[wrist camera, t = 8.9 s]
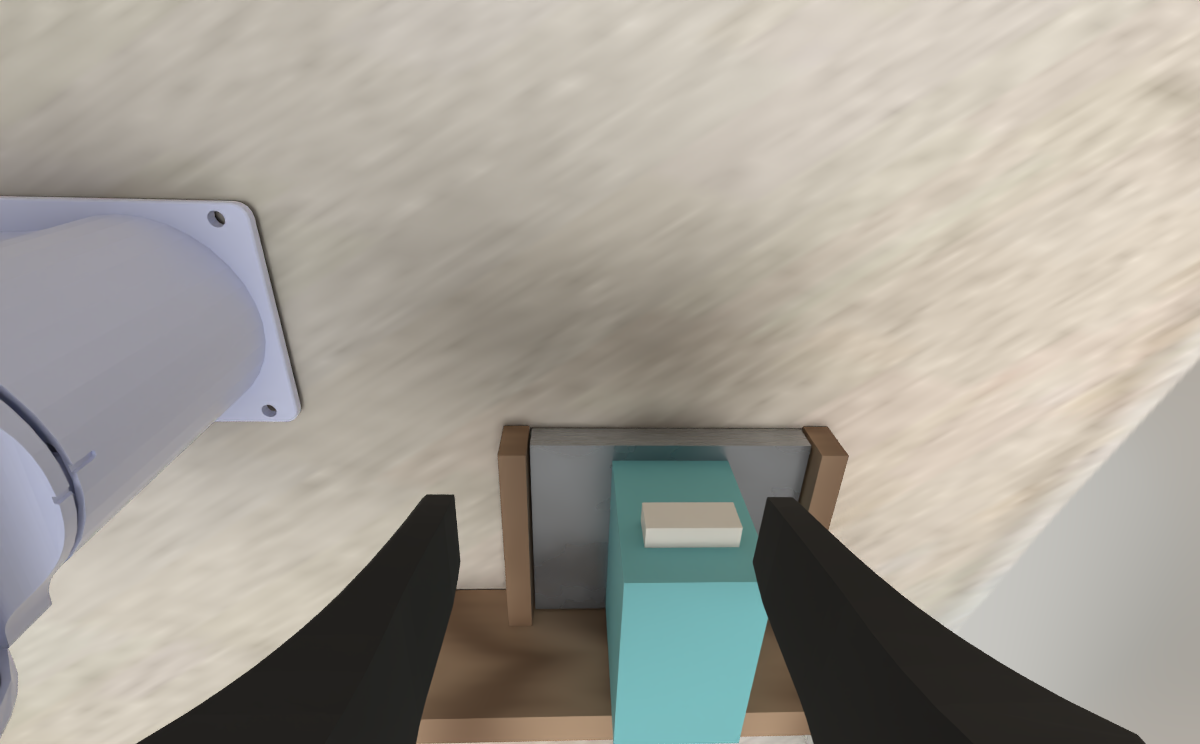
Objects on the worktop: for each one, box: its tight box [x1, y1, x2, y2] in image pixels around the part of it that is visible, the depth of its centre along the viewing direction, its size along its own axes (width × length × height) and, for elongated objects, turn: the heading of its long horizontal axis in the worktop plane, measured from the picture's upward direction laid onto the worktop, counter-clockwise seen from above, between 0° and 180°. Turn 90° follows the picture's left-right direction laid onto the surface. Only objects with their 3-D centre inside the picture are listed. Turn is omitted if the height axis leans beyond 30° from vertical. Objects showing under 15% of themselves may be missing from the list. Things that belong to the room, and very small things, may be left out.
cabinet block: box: [606, 461, 768, 744], centre depth 21 cm, size 4×9×6 cm, turn 178°
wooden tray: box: [416, 426, 849, 744], centre depth 22 cm, size 20×10×6 cm, turn 88°
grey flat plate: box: [530, 428, 811, 609], centre depth 24 cm, size 11×9×1 cm
